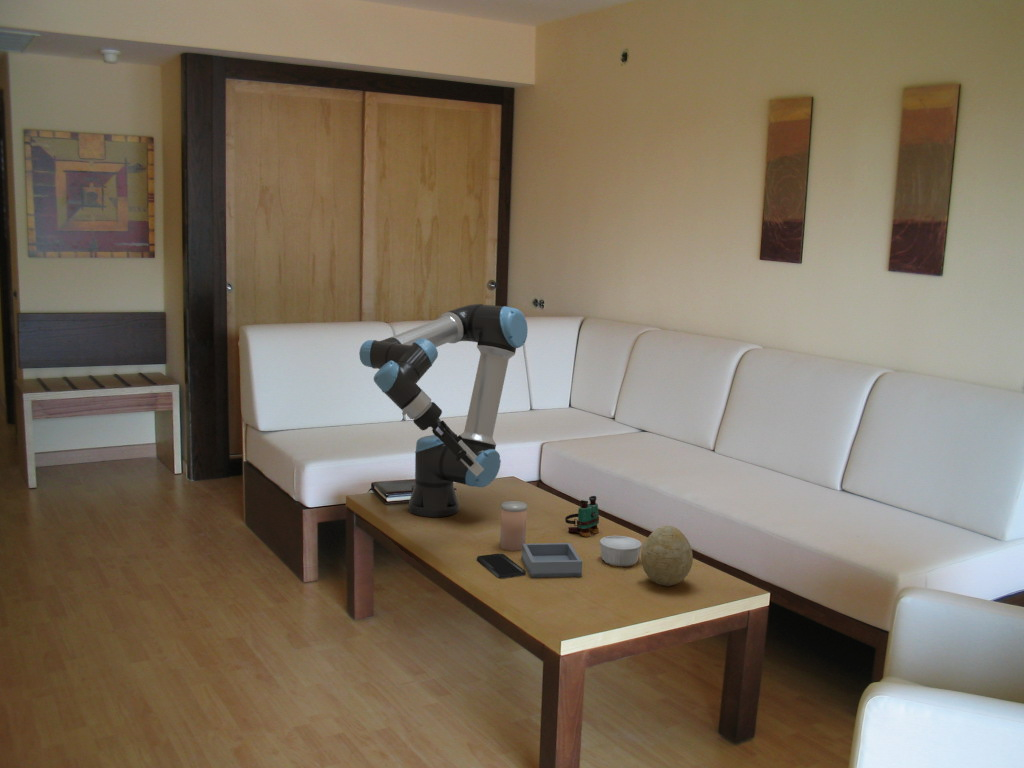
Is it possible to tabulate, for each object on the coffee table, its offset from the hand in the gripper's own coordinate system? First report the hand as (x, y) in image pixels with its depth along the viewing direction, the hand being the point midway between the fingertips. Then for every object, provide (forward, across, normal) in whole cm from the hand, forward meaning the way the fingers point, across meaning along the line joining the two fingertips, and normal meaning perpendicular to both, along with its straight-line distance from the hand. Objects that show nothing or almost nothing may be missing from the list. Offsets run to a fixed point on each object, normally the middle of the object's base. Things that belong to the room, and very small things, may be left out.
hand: (476, 466), depth 255 cm
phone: (+20, +15, -13) cm, 28 cm away
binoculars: (+39, -12, +7) cm, 42 cm away
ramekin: (+43, +12, +10) cm, 46 cm away
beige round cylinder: (+24, 0, -8) cm, 25 cm away
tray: (+29, +16, -3) cm, 33 cm away
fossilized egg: (+48, +29, +15) cm, 58 cm away
